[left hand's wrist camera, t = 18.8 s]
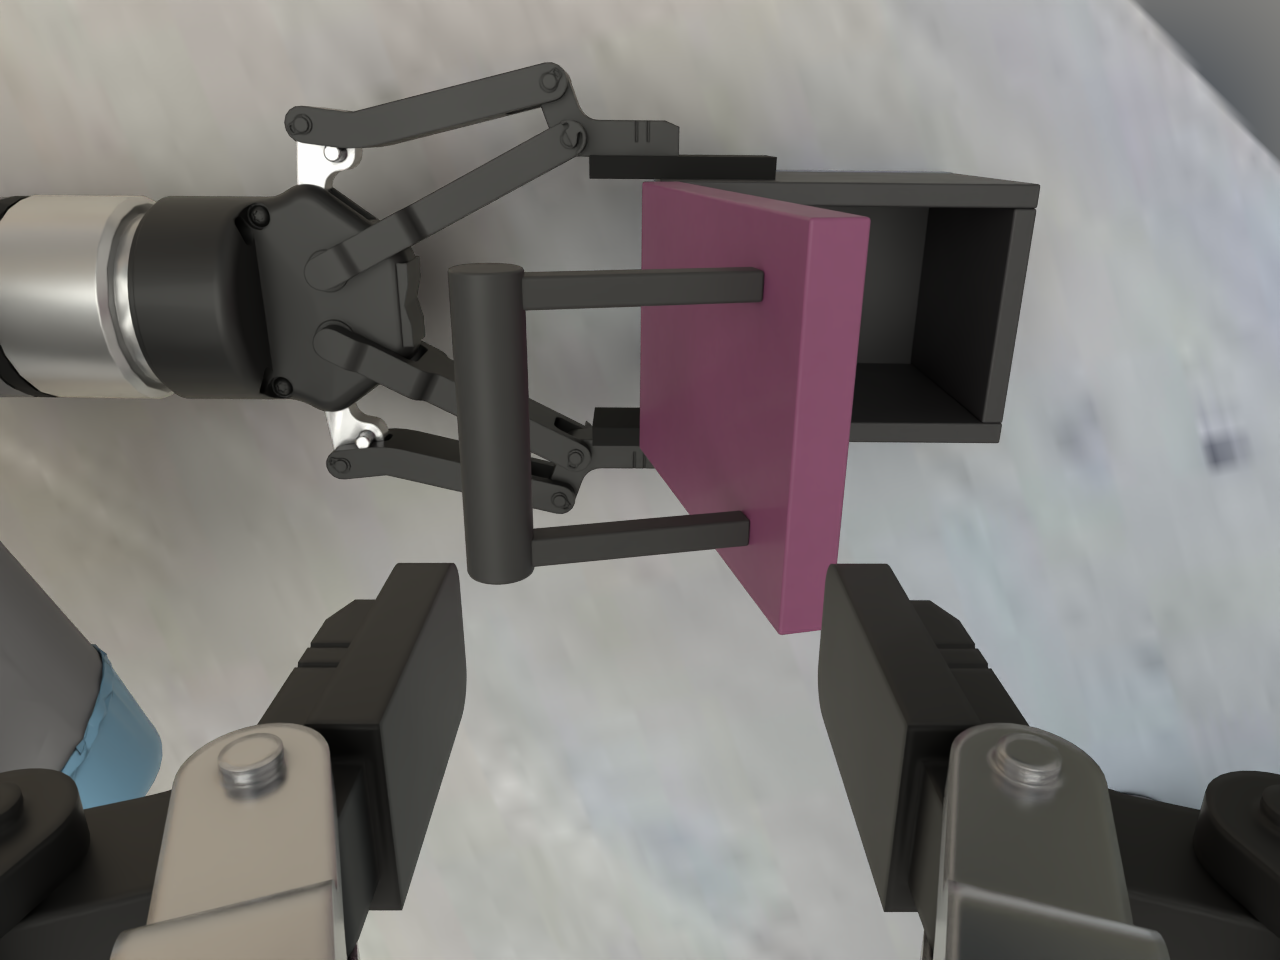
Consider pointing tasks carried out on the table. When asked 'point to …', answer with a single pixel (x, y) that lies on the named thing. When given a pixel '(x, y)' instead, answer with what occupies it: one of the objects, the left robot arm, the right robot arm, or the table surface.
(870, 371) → the chest
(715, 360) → the lid
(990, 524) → the table surface
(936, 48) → the table surface
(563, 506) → the right robot arm
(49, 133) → the table surface
